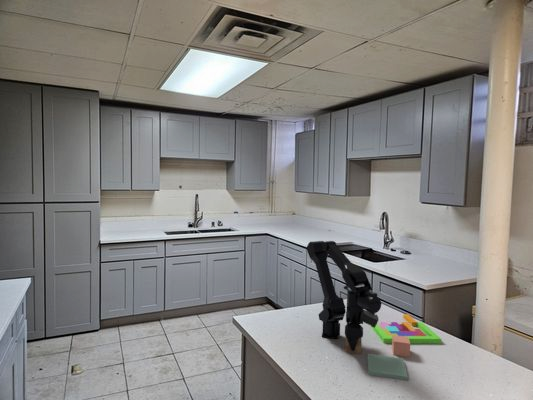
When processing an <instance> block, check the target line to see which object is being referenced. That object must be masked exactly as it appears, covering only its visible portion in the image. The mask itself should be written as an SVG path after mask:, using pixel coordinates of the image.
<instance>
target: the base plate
mask: <svg viewBox="0 0 533 400" xmlns="http://www.w3.org/2000/svg"><path fill="white" fill-rule="evenodd" d="M366 355H367V370H368V371H367V372H368V375H371V376H379V377H383V378H391V379H398V380H399V379H400V380H405V381H408V380H409V377H408V376H409V375H408V373H407V368H406V365H405V361H404V358H401V357H395V356H386V355H379V354H371V353H367V354H366Z"/></svg>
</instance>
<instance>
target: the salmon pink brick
mask: <svg viewBox="0 0 533 400" xmlns="http://www.w3.org/2000/svg"><path fill="white" fill-rule="evenodd" d="M391 349H392V354H393V356H402V357H411V343H410V341H409V338H408V337H405V336H397V335H392V343H391Z"/></svg>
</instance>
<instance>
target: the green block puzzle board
mask: <svg viewBox="0 0 533 400" xmlns="http://www.w3.org/2000/svg"><path fill="white" fill-rule="evenodd" d="M402 315H403V316H402V318H403V319H404V320H405V321H402V322H401V323H398V322H396V321H392V322H391V323H388V322H387V321H381V322H380V323H377V325H376V327H375V328H374V327H372V326H371V325H370V327H371V329H372V330H373V331H374V333H375V334H376V335H377V336H378V338H379V339H380V340H381V342H382V343H383V344H392V335H397V336H405V337H408V338H409V341H410V344H442V338H441V337H440V336H439V335H438V334H437V333H435V332H434V331H433V330H432V329H431V328H430V327H428V326H427V325H426V324H425V323H424V322H421V321H420V322H417V321H416V320H415V319H414V318H413V316H411V315H410V314H409V313H406V314H405V313H403V314H402ZM413 327H417V328H413Z"/></svg>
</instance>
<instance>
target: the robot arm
mask: <svg viewBox="0 0 533 400" xmlns="http://www.w3.org/2000/svg"><path fill="white" fill-rule="evenodd" d="M306 251H307V253H308V256H309V259H310V260H311V261H312V262H313V263H314V265H315V268H316V272H317V275H318V278H319V283H320V286H321V289H322V294H323V297H324V298H323V301H322V311H320V312H319V313H318V320H319V321H321V322H322V333H321V337H322V338H328V339H337V340H338V339H339V337H340V335H341V323H340V321H343V320H344V317H345V322H346V324H345V325H344V336H345V339H346V338H347V340H348V343H349V345H350V348H351V350H352V351H355V348H356V344H357V341H358V339H359V338H361V339H362V338H363V337H364V328H363V326H362V325H363V324H367V325H368V326H370V327H371V326H372V327H374V328H375V327H376V325H377V324H378V322H379V315H377V313H378V312H379V311H380V310H381V308H382V301H381V299H380V297H378V293H377V292H374V291H373V287H372V284H371V283H370V281H369V277H368V276H367V273H366V271H364V270H363V268H361V267H360V266H359V265H356V264H354V263H352V261H351V260H350V259H349V258H348V256H346V255H345V253H344V252H343V251H342V250H341V248H340V247H339V246H338V245H337V243H336V241H334V240H328V241H327V240H326V241H324V240H317V241H309V242H308V244H307V245H306ZM328 256H329V257H330V259H331V260H332V262H334V263H335V265H336V266H337V268H338V269H339V270H340V271H341V276H342V277H341V278H342V279H343V281H344V282H345V285H344V286H343V289H344V290H346V291H347V292H346V293H347V294H346V305H345V302H344V298H343V297H339V295H337V292H336V288H335V286H334V285H335V284H334V282H333V278H332V275H331V274H332V273H331V271H330V267H329V264H328ZM361 324H362V325H361ZM372 327H371V328H372Z"/></svg>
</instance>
